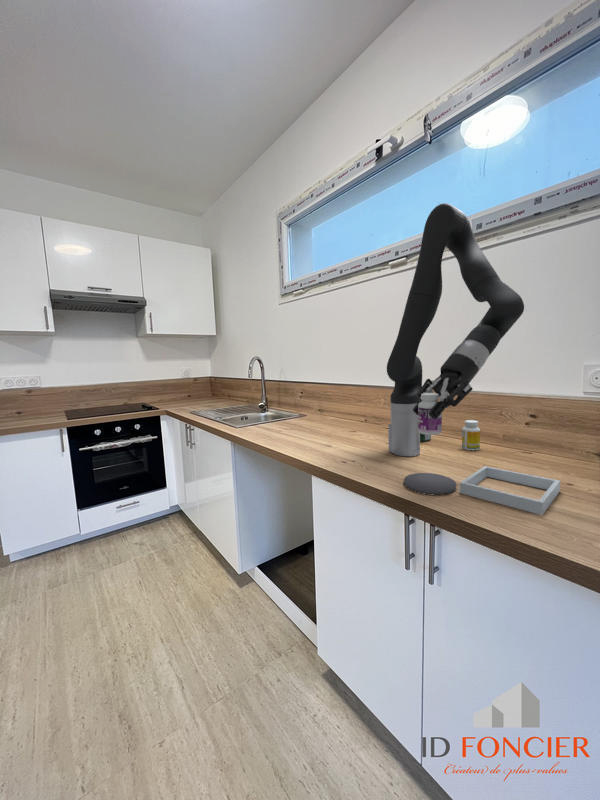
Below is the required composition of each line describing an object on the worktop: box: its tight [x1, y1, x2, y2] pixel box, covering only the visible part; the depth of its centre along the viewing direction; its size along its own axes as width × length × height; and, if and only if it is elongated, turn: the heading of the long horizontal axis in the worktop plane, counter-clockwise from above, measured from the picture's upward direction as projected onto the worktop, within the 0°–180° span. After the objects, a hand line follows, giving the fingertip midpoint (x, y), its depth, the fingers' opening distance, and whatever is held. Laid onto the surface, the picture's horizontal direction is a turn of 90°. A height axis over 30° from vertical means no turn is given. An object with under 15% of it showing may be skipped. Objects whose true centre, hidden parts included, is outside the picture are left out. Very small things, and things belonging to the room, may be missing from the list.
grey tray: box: [459, 465, 561, 516], centre depth 73 cm, size 16×16×2 cm
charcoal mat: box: [403, 472, 457, 496], centre depth 79 cm, size 12×12×1 cm
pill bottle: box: [418, 392, 443, 436], centre depth 77 cm, size 5×5×10 cm
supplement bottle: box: [461, 419, 481, 452], centre depth 107 cm, size 5×5×10 cm
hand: (423, 414), depth 76 cm, fingers closed on pill bottle, 5 cm apart
